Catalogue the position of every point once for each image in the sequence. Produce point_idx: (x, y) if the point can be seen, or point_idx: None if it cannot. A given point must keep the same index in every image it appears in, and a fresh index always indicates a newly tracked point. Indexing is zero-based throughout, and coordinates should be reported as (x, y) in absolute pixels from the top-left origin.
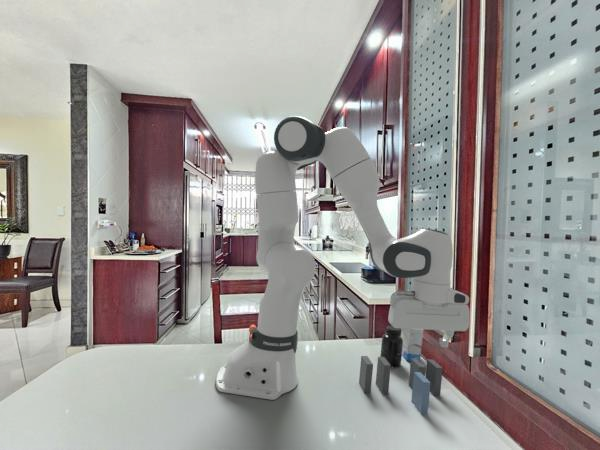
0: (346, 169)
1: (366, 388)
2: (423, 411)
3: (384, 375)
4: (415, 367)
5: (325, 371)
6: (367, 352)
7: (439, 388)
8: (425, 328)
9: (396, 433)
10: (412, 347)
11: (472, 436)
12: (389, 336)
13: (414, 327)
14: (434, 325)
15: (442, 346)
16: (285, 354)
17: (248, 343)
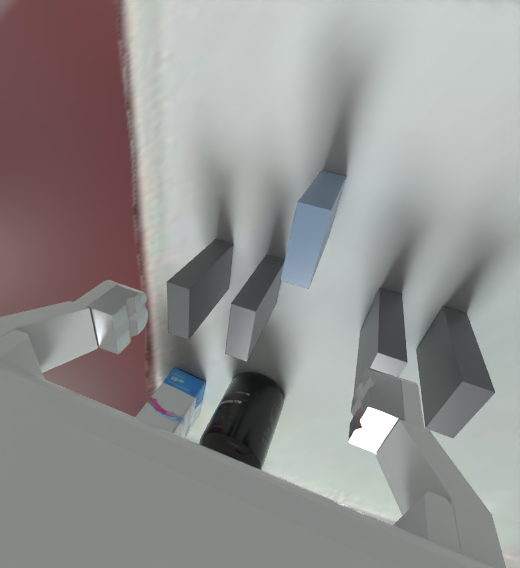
0: None
1: (463, 321)
2: (335, 176)
3: (401, 332)
4: (257, 323)
5: (508, 431)
6: (289, 441)
7: (208, 250)
8: (244, 475)
9: None
10: (175, 408)
11: (248, 31)
12: None
13: (405, 553)
14: (103, 473)
15: (142, 294)
16: None
17: None
